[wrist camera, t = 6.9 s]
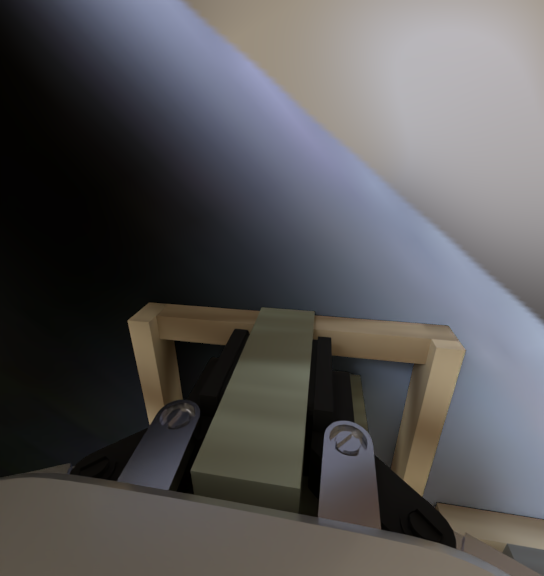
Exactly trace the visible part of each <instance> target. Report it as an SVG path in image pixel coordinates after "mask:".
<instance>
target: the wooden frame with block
mask: <svg viewBox="0 0 544 576" xmlns="http://www.w3.org/2000/svg"><path fill="white" fill-rule="evenodd" d="M128 326H129V330H130V335H131V340H132V344H133V349H134V354H135V358H136V363H137V368H138V373H139V377H140V382H141V387H142V391H143V396H144V401H145V405H146V410H147V415H148V420H149V424H151V423H152V421H153V419H154V417H155V416H156V414H157V413H158V411H159V410H160V409H161V408H162V407H163V406H165V405H166V404H168V403H170V402H172V401H176V400H183V397H182V390H181V384H180V377H179V370H178V363H177V357H176V350H175V343H174V340H177V341H187V342H198V343H208V344H219V345H226V344H227V342H228V340H229V338H230V336H231V334H232V333H233V331H234V329H245V330H248V331H249V333H250V335H249V338H248V340H247V342H246V344H245V347H244V349H243V351H242V354H241V356H240V358H239V360H238V363H237V365H236V367H235V370H234V372H233V374H232V377H231V379H230V381H229V383H228V386H227V388H226V390H225V393H224V395H223V397H222V399H221V402H220V404H219V406H218V409H217V411H216V413H215V416H214V418H213V420H212V422H211V425H210V427H209V429H208V432H207V434H206V436H205V438H204V441H203V443H202V445H201V448H200V450H199V452H198V455H197V457H196V459H195V461H194V464H193V466H192V468H191V478H192V484H193V491H194V495H198V496H203V497H209V498H215V499H220V500H226V501H231V502H237V503H242V504H248V505H253V506H259V507H264V508H270V509H275V510H281V511H286V512H292V513H297V514H302V515H308V516H313V517H316V513H317V501H318V499H317V498H316V497H315V495H314V494H313V493H312V492H311V491H310V489H309V488H308V476H303V465H304V448H305V431H306V414H307V400H308V388H309V376H310V364H311V352H312V340H313V339H314V340H318V336H319V337H330V338H331V343H332V355H333V356H343V357H353V358H364V359H374V360H385V361H395V362H405V363H414V366H413V370H412V375H411V379H410V384H409V388H408V393H407V397H406V402H405V406H404V411H403V415H402V420H401V424H400V429H399V433H398V438H397V442H396V447H395V451H394V456H393V460H392V465H391V470H392V471H393V472H395V473H396V474H397V475H398V476H399V477H400V478H401V479H402V480H404V481H405V482H406V483H407V484H408V485H409V486H410V487H412V488H413V489H414V490H415V491H416V492H417V493H418V494H420V495H421V496H423V493H424V489H425V486H426V482H427V479H428V476H429V472H430V469H431V466H432V462H433V459H434V456H435V452H436V449H437V445H438V442H439V439H440V435H441V432H442V429H443V425H444V422H445V419H446V415H447V412H448V408H449V405H450V402H451V398H452V395H453V392H454V388H455V385H456V382H457V378H458V375H459V371H460V368H461V365H462V361H463V358H464V355H465V351H466V350H465V349H464V347H463V346H462V344H461V343H460V342H459V340H458V339H457V337H456V336H455V335H454V333H453V332H452V330H451V329H450V327H449V326H446V325H433V324H420V323H407V322H394V321H381V320H368V319H356V318H343V317H330V316H317V315H315V311H304V310H291V309H277V308H264V307H262V308H261V310H260V311H252V310H240V309H227V308H214V307H201V306H188V305H175V304H162V303H148V304H147V305H146V306H145V307H143V308H142V309H141V310H140V311H138V312H137V313H136V314H135V315H134V316H132V317H131V318H130V319H129V320H128ZM350 381H351V391H352V401H353V411H354V421H355V423H356V424H358V425H360V426H361V427H363V428H364V429H365V430H366V431H367V432H368V425H367V418H366V412H365V405H364V398H363V391H362V385H361V378H360V375H354V374H350ZM368 433H369V432H368Z"/></svg>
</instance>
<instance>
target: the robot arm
mask: <svg viewBox="0 0 544 576" xmlns="http://www.w3.org/2000/svg"><path fill="white" fill-rule="evenodd" d="M249 335H250V333H249V331H248V330H245V329H234V331H233V333H232V334H231V336H230V338H229V340H228V342H227V344H226V346H225V347H224V349H223V351H222V353H221V355H220V357H219V358H215V357H212V358H211V359H210V360H209V362H208V364H207V365H206V367H205V369H204V371H203V372H202V374H201V376H200V378H199V379H198V381H197V383H196V385H195V386H194V388H193V390H192V391H191V393H190V395H189V397H188V398H187V400H176V401H172V402H170V403H168V404H166V405H165V406H163V407H162V408H161V409H160V410H159V411H158V413H157V414H156V416H155V417H154V419H153V421H152V423H151V424H150V426H149V428H146V429H144V430H142V431H140V432H138V433H135V434H133V435H131V436H129V437H127V438H125V439H122V440H120V441H118V442H116V443H114V444H111V445H109V446H107V447H105V448H103V449H100V450H98V451H96V452H94V453H92V454H90V455H88V456H86V457H85V458H83V459H82V460H81V461H80V462H78V463H77V464H76V465H75V466H73V467H72V466H71V463H69V464H64V465H60V466H55V467H50V468H46V469H41V470H37V471H32V472H28V473H23V474H17V475H12V476H7V477H2V478H0V576H542V575H540V574H539V573H537V572H535V571H533V570H531V569H530V568H528V567H526V566H524V565H523V564H521V563H519V562H517V561H516V560H514V559H512V558H510V557H508V556H507V555H505V554H503V553H501V552H500V551H498V550H496V549H494V548H492V547H491V546H489V545H487V544H485V543H484V542H482V541H480V540H478V539H477V538H475V537H473V536H471V535H469V534H468V533H466V532H465V535H464V536H463V535H461V534H459V533H457V532H456V531H454V530H453V529H452V528H451V526H450V524H449V523H448V521H447V520H446V519H445V518H444V517H443V515H442V514H441V513H440V512H439V511H438V510H437V509H435V508H434V507H433V506H432V505H431V504H430V503H429V502H427V501H426V500H425V499H424V498H423V497H422V496H421V495H420V494H418V493H417V492H416V491H415V490H414V489H413V488H412V487H410V486H409V485H408V484H407V483H406V482H405V481H404V480H402V479H401V478H400V477H399V476H398V475H397V474H396V473H395V472H393V471H392V470H391V469H390V468H389V467H388V466H387V465H385V464H384V463H383V462H382V461H381V460H380V459H379V458H378V457H376V456H375V455H374V449H373V442H372V439H371V436H370V435H369V433H368V432H367V431H366V430H365V429H364V428H363V427H361V426H360V425H358V424H356V423H355V421H354V411H353V401H352V391H351V381H350V373H349V372H343V371H334V370H332V343H331V338H330V337H319V336H318V340H314V339H313V340H312V352H311V364H310V376H309V388H308V400H307V414H306V431H305V448H304V465H303V476H308V488H309V489H310V491H311V492H312V493H313V494H314V495H315V497H316V498H317V499H318V501H317V513H316V517H313V516H308V515H302V514H297V513H292V512H286V511H281V510H275V509H270V508H264V507H259V506H253V505H248V504H242V503H237V502H231V501H226V500H220V499H215V498H209V497H203V496H198V495H194V491H193V484H192V478H191V468H192V466H193V464H194V461H195V459H196V457H197V455H198V452H199V450H200V448H201V445H202V443H203V441H204V438H205V436H206V434H207V432H208V429H209V427H210V425H211V422H212V420H213V418H214V416H215V413H216V411H217V409H218V406H219V404H220V402H221V399H222V397H223V395H224V393H225V390H226V388H227V386H228V383H229V381H230V379H231V377H232V374H233V372H234V370H235V367H236V365H237V363H238V360H239V358H240V356H241V354H242V351H243V349H244V347H245V344H246V342H247V340H248V338H249Z"/></svg>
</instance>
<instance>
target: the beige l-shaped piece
mask: <svg viewBox="0 0 544 576" xmlns="http://www.w3.org/2000/svg"><path fill="white" fill-rule="evenodd" d="M435 509H437V510H438V511H439V512H440V513H441V514H442V515H443V517H444V518H445V519H446V520H447V521H448V523H449V524H450V526H451V528H452V529H453V530H454V531H456V532H457V533H459V534H461V535H463V536H464V535H465V532H466V533H468V534H469V535H471V536H473V537H475V538H477V539H478V540H480V541H482V542H484V543H485V544H487V545H489V546H491V547H492V548H494V549H496V550H498V551H500V552H501V553H503V554H505V555H507V556H508V557H510V558H512V559H514V560H516V561H517V562H519V563H521V564H523V565H524V566H526V567H528V568H530V569H531V570H533V571H535V572H537V573H539V574H540V575H542V576H544V520H542V519H536V518H530V517H523V516H517V515H511V514H505V513H498V512H492V511H486V510H480V509H473V508H467V507H461V506H454V505H448V504H442V503H437V504H436V507H435Z"/></svg>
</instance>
